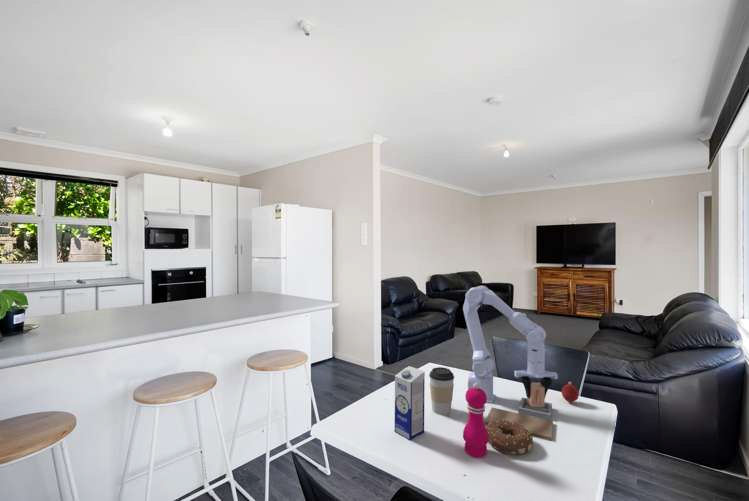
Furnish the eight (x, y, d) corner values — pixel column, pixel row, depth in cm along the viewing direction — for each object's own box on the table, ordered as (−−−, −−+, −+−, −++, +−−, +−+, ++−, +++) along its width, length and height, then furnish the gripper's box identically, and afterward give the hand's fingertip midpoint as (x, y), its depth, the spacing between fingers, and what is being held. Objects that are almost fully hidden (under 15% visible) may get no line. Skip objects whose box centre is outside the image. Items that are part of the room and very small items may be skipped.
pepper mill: (469, 441, 107) (469, 376, 106) (492, 450, 102) (493, 382, 102) (458, 452, 101) (459, 383, 101) (482, 462, 96) (483, 390, 96)
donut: (497, 428, 115) (497, 413, 115) (540, 444, 105) (540, 428, 105) (475, 444, 105) (475, 428, 105) (520, 465, 95) (520, 447, 95)
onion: (577, 407, 130) (577, 386, 130) (560, 403, 134) (560, 382, 134) (579, 402, 135) (579, 381, 135) (562, 398, 138) (563, 378, 138)
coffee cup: (452, 405, 131) (452, 365, 131) (455, 416, 122) (455, 374, 122) (428, 404, 132) (428, 364, 132) (429, 415, 123) (429, 373, 123)
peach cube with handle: (526, 400, 130) (527, 382, 130) (539, 401, 129) (539, 382, 129) (532, 408, 124) (532, 388, 124) (546, 409, 123) (546, 389, 123)
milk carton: (424, 433, 111) (425, 370, 111) (410, 440, 107) (410, 375, 107) (408, 424, 117) (408, 365, 117) (394, 431, 112) (394, 369, 112)
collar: (518, 413, 125) (518, 408, 125) (521, 402, 134) (521, 397, 134) (550, 420, 120) (550, 415, 120) (552, 408, 129) (552, 403, 129)
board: (484, 424, 117) (484, 421, 117) (491, 409, 128) (491, 407, 128) (551, 440, 107) (551, 437, 107) (553, 423, 118) (553, 420, 118)
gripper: (518, 363, 124) (518, 401, 124) (561, 364, 123) (561, 403, 123) (512, 356, 131) (512, 392, 131) (553, 358, 130) (552, 394, 130)
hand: (535, 397), depth 127 cm, fingers closed on peach cube with handle, 5 cm apart
